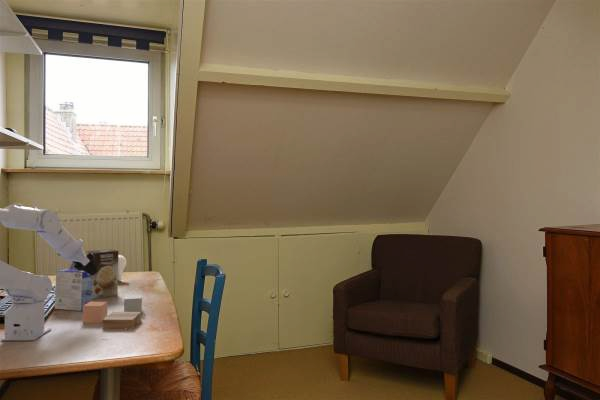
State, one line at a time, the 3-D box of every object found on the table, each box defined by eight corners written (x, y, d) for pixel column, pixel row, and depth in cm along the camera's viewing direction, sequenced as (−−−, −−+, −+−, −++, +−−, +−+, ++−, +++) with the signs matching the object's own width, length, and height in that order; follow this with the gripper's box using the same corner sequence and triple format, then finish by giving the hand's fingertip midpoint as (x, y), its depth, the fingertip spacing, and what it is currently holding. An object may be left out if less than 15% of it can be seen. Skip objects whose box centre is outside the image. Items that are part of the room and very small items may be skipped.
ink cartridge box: (93, 307, 149) (93, 262, 148) (81, 311, 143) (82, 265, 143) (66, 305, 150) (66, 260, 150) (54, 309, 145) (54, 263, 145)
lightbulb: (110, 280, 193) (110, 254, 193) (126, 279, 195) (126, 253, 194) (109, 283, 187) (109, 256, 187) (125, 282, 189) (126, 255, 188)
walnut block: (132, 330, 126) (132, 319, 126) (102, 330, 126) (102, 319, 126) (141, 322, 134) (141, 311, 134) (112, 322, 134) (113, 311, 134)
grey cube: (141, 314, 141) (141, 298, 141) (124, 315, 140) (124, 299, 140) (141, 310, 146) (141, 294, 146) (124, 311, 144) (125, 295, 144)
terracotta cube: (100, 323, 131) (101, 306, 131) (82, 323, 131) (83, 305, 131) (107, 318, 136) (107, 301, 136) (89, 318, 136) (90, 301, 136)
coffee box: (93, 299, 159) (93, 252, 159) (84, 296, 163) (85, 251, 163) (118, 294, 166) (118, 250, 166) (109, 292, 170) (109, 248, 170)
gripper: (86, 239, 127) (111, 267, 137) (59, 221, 135) (85, 248, 145) (65, 258, 124) (92, 285, 134) (39, 238, 132) (67, 265, 142)
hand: (87, 267), depth 139 cm, fingers open, 7 cm apart
